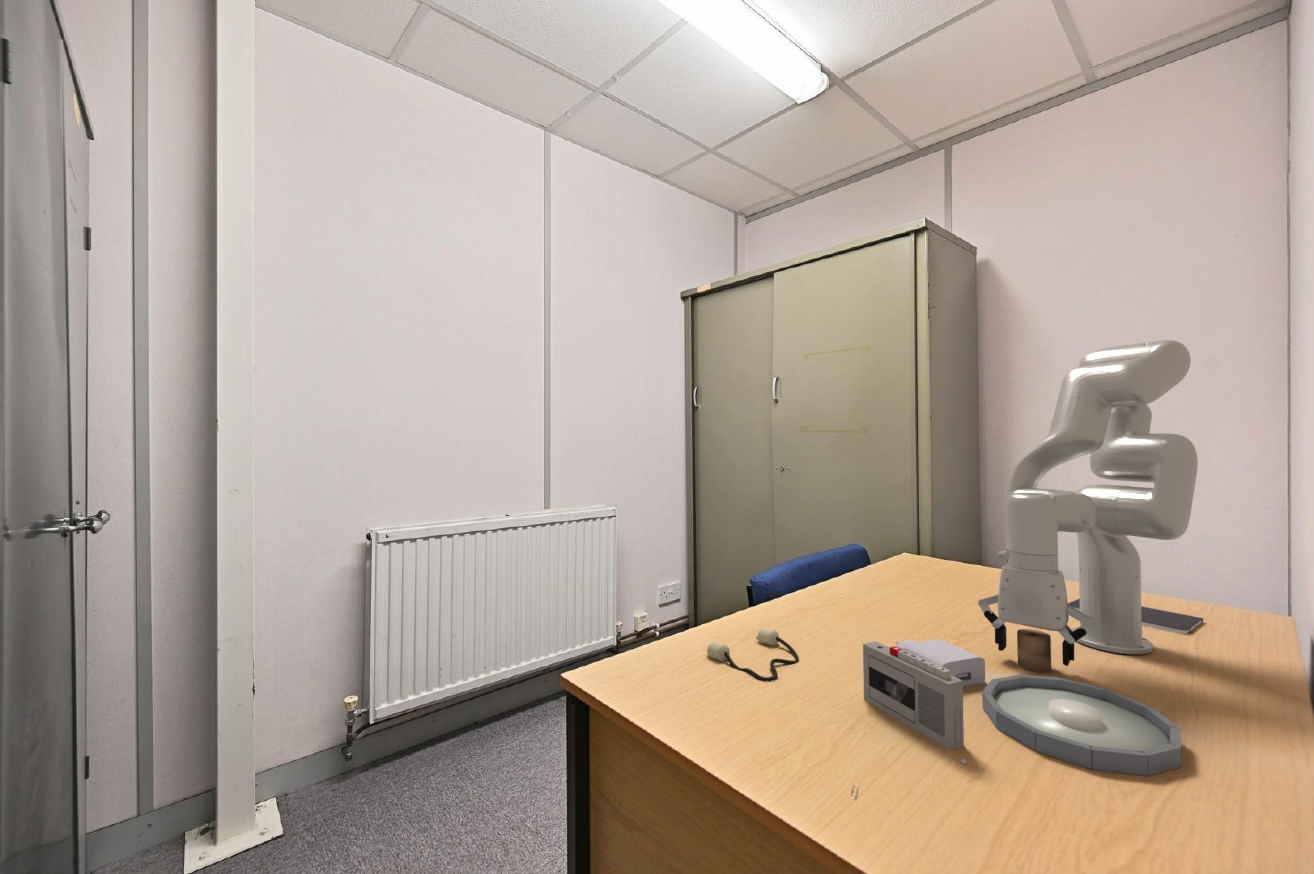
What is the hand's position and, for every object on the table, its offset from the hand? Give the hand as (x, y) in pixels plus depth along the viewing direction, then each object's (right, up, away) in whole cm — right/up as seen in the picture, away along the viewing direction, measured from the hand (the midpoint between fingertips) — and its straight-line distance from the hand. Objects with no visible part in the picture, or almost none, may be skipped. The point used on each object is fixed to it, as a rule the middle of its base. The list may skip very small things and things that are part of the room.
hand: (1033, 655), depth 97 cm
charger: (-19, -3, 0) cm, 19 cm away
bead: (0, -2, 0) cm, 2 cm away
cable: (-48, -4, +6) cm, 49 cm away
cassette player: (-31, -3, -17) cm, 35 cm away
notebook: (+41, -2, +26) cm, 49 cm away
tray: (-8, -2, -20) cm, 22 cm away
